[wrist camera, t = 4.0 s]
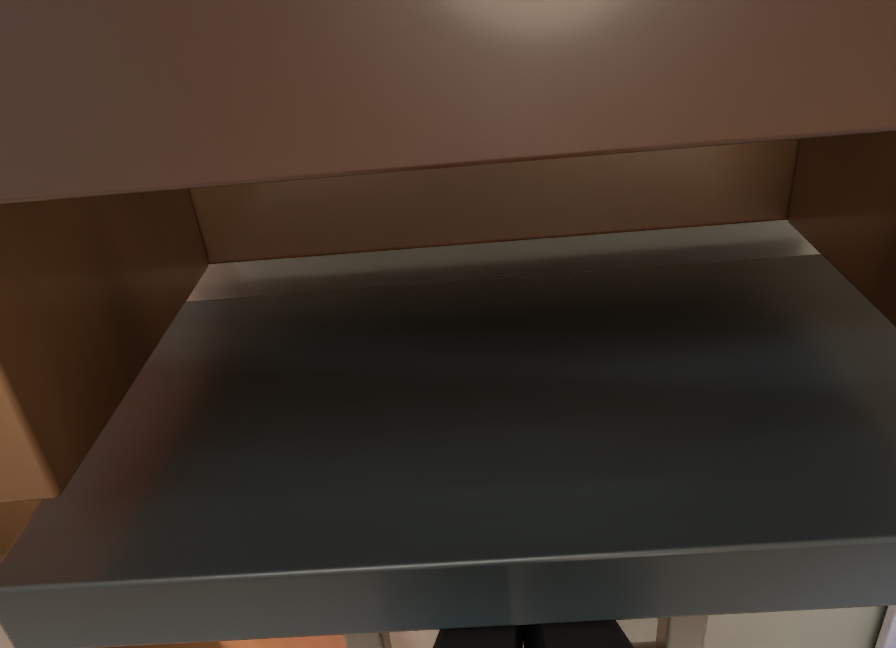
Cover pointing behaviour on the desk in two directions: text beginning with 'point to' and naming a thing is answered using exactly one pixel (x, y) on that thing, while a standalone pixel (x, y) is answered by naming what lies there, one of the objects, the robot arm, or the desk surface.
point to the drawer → (451, 406)
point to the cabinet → (415, 85)
